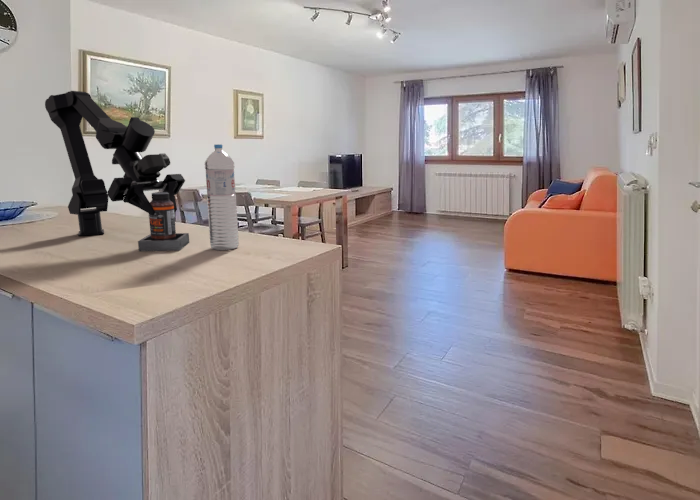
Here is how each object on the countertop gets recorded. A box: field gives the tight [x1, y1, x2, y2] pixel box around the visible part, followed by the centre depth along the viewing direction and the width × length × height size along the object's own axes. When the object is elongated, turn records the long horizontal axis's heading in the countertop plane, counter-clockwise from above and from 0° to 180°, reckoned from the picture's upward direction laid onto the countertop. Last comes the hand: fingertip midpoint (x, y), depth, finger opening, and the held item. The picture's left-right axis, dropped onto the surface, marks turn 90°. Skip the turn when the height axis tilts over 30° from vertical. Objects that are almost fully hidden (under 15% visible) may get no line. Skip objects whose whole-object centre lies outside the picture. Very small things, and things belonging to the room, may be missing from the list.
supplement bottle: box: [148, 191, 177, 240], centre depth 120 cm, size 6×6×11 cm
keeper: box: [137, 232, 190, 252], centre depth 121 cm, size 10×10×2 cm
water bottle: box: [204, 143, 240, 251], centre depth 117 cm, size 7×7×25 cm
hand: (164, 212), depth 119 cm, fingers closed on supplement bottle, 6 cm apart
